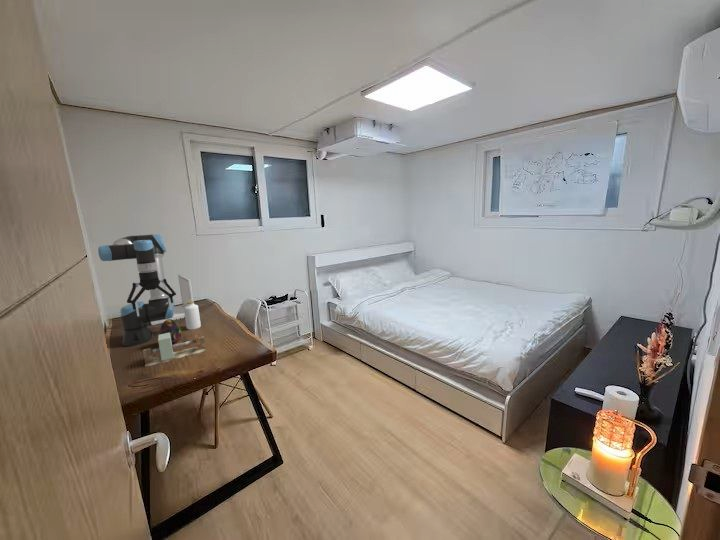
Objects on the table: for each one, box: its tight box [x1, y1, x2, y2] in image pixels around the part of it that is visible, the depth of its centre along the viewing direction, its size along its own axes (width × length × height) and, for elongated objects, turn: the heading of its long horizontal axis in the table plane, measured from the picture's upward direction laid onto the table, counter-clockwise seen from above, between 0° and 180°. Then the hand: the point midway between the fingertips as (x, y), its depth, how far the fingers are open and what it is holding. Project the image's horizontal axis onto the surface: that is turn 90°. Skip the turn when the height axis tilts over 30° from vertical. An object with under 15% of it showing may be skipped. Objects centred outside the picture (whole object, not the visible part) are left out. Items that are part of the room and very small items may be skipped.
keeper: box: [157, 333, 174, 361], centre depth 150 cm, size 5×9×11 cm, turn 33°
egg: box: [159, 319, 183, 345], centre depth 167 cm, size 11×11×15 cm
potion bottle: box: [184, 300, 202, 331], centre depth 191 cm, size 8×8×18 cm
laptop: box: [149, 273, 195, 326], centre depth 221 cm, size 34×28×28 cm
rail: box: [142, 333, 207, 367], centre depth 153 cm, size 27×9×8 cm, turn 123°
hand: (155, 312), depth 147 cm, fingers open, 13 cm apart
